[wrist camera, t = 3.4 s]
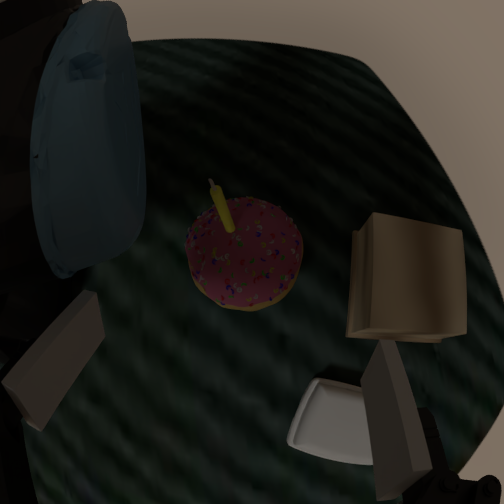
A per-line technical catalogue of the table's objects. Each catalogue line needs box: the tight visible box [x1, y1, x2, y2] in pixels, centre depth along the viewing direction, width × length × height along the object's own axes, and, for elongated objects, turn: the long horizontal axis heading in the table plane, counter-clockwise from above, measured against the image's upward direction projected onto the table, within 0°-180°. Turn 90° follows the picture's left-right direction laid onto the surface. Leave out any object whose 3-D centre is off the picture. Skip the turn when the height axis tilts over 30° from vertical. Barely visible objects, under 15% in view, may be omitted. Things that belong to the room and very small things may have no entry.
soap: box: [287, 378, 373, 465], centre depth 21 cm, size 9×7×3 cm
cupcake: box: [185, 178, 303, 311], centre depth 21 cm, size 9×8×12 cm
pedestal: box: [346, 212, 467, 343], centre depth 24 cm, size 10×10×5 cm
